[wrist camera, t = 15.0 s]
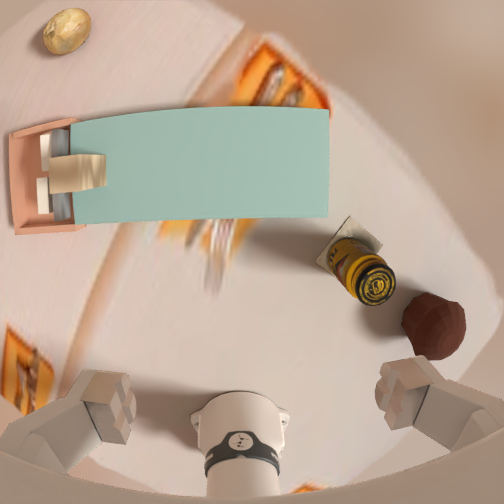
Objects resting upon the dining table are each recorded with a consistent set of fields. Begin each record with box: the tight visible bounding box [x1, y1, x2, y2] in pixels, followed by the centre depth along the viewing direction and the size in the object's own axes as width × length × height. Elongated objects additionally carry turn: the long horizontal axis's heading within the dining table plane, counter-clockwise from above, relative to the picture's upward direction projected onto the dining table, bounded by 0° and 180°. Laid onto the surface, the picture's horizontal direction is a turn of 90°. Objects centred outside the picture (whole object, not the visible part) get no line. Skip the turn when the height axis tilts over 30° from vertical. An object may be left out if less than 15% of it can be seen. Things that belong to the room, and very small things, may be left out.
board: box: [70, 106, 329, 225], centre depth 38 cm, size 14×34×4 cm, turn 90°
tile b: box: [40, 129, 64, 171], centre depth 34 cm, size 5×5×2 cm
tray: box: [9, 118, 86, 235], centre depth 37 cm, size 16×12×4 cm
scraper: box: [49, 129, 107, 222], centre depth 32 cm, size 12×7×8 cm, turn 178°
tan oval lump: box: [43, 8, 91, 55], centre depth 30 cm, size 8×8×7 cm
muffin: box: [401, 292, 466, 360], centre depth 44 cm, size 12×11×10 cm
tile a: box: [37, 177, 53, 214], centre depth 37 cm, size 5×5×2 cm
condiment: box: [315, 217, 396, 306], centre depth 39 cm, size 7×8×12 cm
